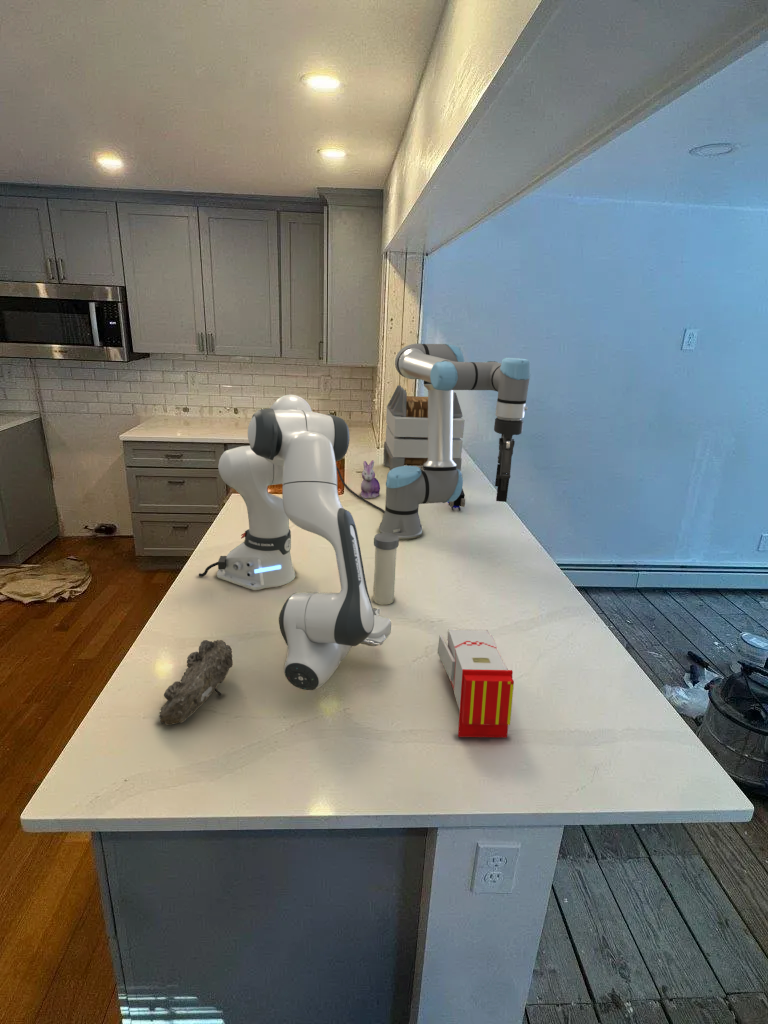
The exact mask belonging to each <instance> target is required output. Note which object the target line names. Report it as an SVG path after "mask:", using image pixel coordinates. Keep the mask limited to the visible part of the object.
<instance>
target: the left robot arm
mask: <svg viewBox="0 0 768 1024" xmlns="http://www.w3.org/2000/svg"><path fill="white" fill-rule="evenodd" d="M247 441H248V443H249V445H242V446H238V447H237V446H236V447H233V448H230V449H227V450H224V451H223V453H222V454H221V455H220V458H219V460H218V464H217V466H218V467H217V468H218V474H219V476H220V478H221V480H222V481H223V483H224V484H225V485H227V486H228V487H230V488H232V489H233V490H235V491H236V492H237V493H238V494H239V496H240V497H241V498H242V500H243V501H244V504H245V506H246V510H247V519H248V529H246V530H245V531H244V532H242V533H241V535H240V536H241V537H240V539H244V540H243V541H242V542H241V543H240V544H238V545H236V547H234V548H232V549H231V550H230V551H229V552H228V553H227V554H226V555H220V556H219V558H218V561H216V562H214V563H212V564H209V565H208V566H207V567H206V568H205V570H204V571H203V572H202V573H198V577H202V578H203V577H205V576H206V575H207V573H208V572H209V570H210V569H212V568H214V567H217V572H216V578H218V579H220V580H223V581H226V582H229V583H232V584H234V585H238V586H240V587H243V588H246V589H249V590H251V591H259V590H263V589H268V588H277V587H282V586H285V585H287V584H289V583H291V582H292V581H294V580H295V578H296V571H295V569H294V566H293V560H292V555H291V554H292V553H291V550H292V549H291V548H292V531H291V529H290V521H291V523H292V524H294V525H295V526H296V527H298V528H301V530H304V531H307V532H308V533H309V532H310V533H311V534H315V535H317V536H319V537H322V538H324V539H325V540H326V541H328V542H329V543H330V545H331V546H332V548H333V550H334V553H335V558H336V563H337V564H336V565H337V566H336V567H337V572H338V577H339V583H340V591H339V592H317V591H316V592H315V591H314V592H311V591H310V592H294V593H292V594H290V595H289V597H287V599H286V600H285V602H284V603H283V605H282V607H281V610H280V611H279V615H278V627H279V631H280V634H281V636H282V638H283V641H284V642H285V644H286V646H287V654H286V659H285V663H284V667H283V672H284V675H285V679H286V680H287V681H288V682H289V683H290V685H292V686H294V688H296V689H300V690H303V691H315V690H317V689H319V688H321V687H322V686H323V685H324V684H326V682H328V680H330V678H331V677H332V676H333V674H334V673H335V671H336V670H337V669H338V668H339V666H340V663H341V662H342V661H343V660H344V659H345V658H346V657H347V656H348V653H349V652H351V650H352V648H353V647H357V646H359V645H363V646H368V647H378V646H381V645H383V644H384V642H385V641H386V640H387V638H388V637H389V636H390V635H391V634H392V620H391V618H389V617H385V616H380V614H381V610H380V608H378V607H377V608H376V607H373V604H372V600H371V596H370V594H369V591H368V586H367V580H366V575H365V568H364V563H363V557H362V551H361V546H360V541H359V534H358V530H357V527H356V523H355V520H354V517H353V515H352V513H351V512H350V511H349V510H347V509H346V508H344V506H343V505H342V503H341V500H340V496H339V490H338V471H337V468H336V466H337V462H338V461H341V460H342V459H343V458H344V457H345V456H346V455H347V453H348V450H349V446H350V429H349V425H348V424H347V422H346V420H344V419H343V418H342V417H340V416H337V415H334V414H331V413H329V414H324V413H320V412H316V411H313V410H312V407H311V405H310V404H309V403H308V401H307V400H306V399H305V398H303V397H301V396H299V395H296V394H284V395H282V396H280V397H278V398H277V399H276V400H275V401H274V402H273V403H272V405H271V406H270V407H269V408H261V409H258V410H256V411H255V412H254V413H252V416H251V418H250V421H249V423H248V427H247ZM274 485H282V492H281V495H282V497H280V496H278V495H275V494H272V493H269V492H268V491H269V490H268V487H269V486H274Z"/></svg>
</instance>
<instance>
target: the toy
mask: <svg viewBox="0 0 768 1024" xmlns="http://www.w3.org/2000/svg"><path fill="white" fill-rule="evenodd" d="M446 640H447V643H446V641H445V639H444V636H443V635H442V634H439V637H438V646H437V656H438V657H439V659H440V661H441V663H442V666H443V668H444V670H445V672H446V674H447V677H448V679H449V681H450V684H451V687H452V690H453V693H454V697H455V701H456V705H457V708H458V711H459V714H458V715H459V716H458V730H457V731H458V732H457V737H458V738H508V731H509V726H510V725H511V717H512V707H513V697H514V696H513V695H514V684H515V680H514V679H513V673H514V671H513V670H512V669H508V667H507V665H506V662H505V661H504V659H503V658H502V655H501V653H500V651H499V649H498V647H497V643H496V639H495V637H494V635H493V634H491V632H490V631H489V629H467V628H466V629H465V628H463V629H461V628H460V629H459V628H448V630H447V639H446Z"/></svg>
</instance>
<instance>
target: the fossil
mask: <svg viewBox="0 0 768 1024" xmlns="http://www.w3.org/2000/svg"><path fill="white" fill-rule="evenodd" d="M233 658H234V656H233V650H232V647H231V645H229V644H227V643H226V641H224V640H223V639H216V640H213V641H212V640H208V639H203V640H202V641H201V642H200V645H198V651H193V652H191V653H189V655H188V656H187V658H186V659H187V660H186V667H187V668H186V669H185V671H184V672H183V674H182V675H181V678H180V680H176V681H174V682H173V683H172V684H171V685H169V686H168V687H167V688H166V690H165V692H164V693H163V697H164V698H165V699H166V701H165V703H164V705H162V706H160V709H159V710H160V712H159V713H158V714H159V716H158V717H159V719H160V723H164V724H165V725H166V726H167V725H168V726H170V725H171V726H172V725H174V724H175V725H176V724H179V723H180V724H183V723H184V722H185V721H186V720H187V719H188V718H189V717H190V716H191V715H193V714H194V713H195V712H196V711H197V710H198V709H199V708H200V707H201V706H203V705H204V704H205V703H206V702H207V700H208V698H209V697H210V696H211V694H213V693H214V692H215V693H216V694H217V695H218V696H222V693H221V691H220V690H219V689H218V688H217V687H218V685H219V684H222V683H223V681H224V680H226V676H227V675H228V673H229V671H230V669H231V668H232V667H233V665H234V660H233Z"/></svg>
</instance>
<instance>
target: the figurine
mask: <svg viewBox="0 0 768 1024" xmlns="http://www.w3.org/2000/svg"><path fill="white" fill-rule="evenodd" d="M362 464H363V470H362V472H361V478H362V481H361V483H360V490H361V491H360V495H359V496H360V497H362V498H364V499H373V498H377V497H379V496H380V491H381V484H380V481H379V480H378V478H376V473H375V471H374V465H375V460H370V462H369V464H368V462H367V461H366V460H364V461H363V463H362Z"/></svg>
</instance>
